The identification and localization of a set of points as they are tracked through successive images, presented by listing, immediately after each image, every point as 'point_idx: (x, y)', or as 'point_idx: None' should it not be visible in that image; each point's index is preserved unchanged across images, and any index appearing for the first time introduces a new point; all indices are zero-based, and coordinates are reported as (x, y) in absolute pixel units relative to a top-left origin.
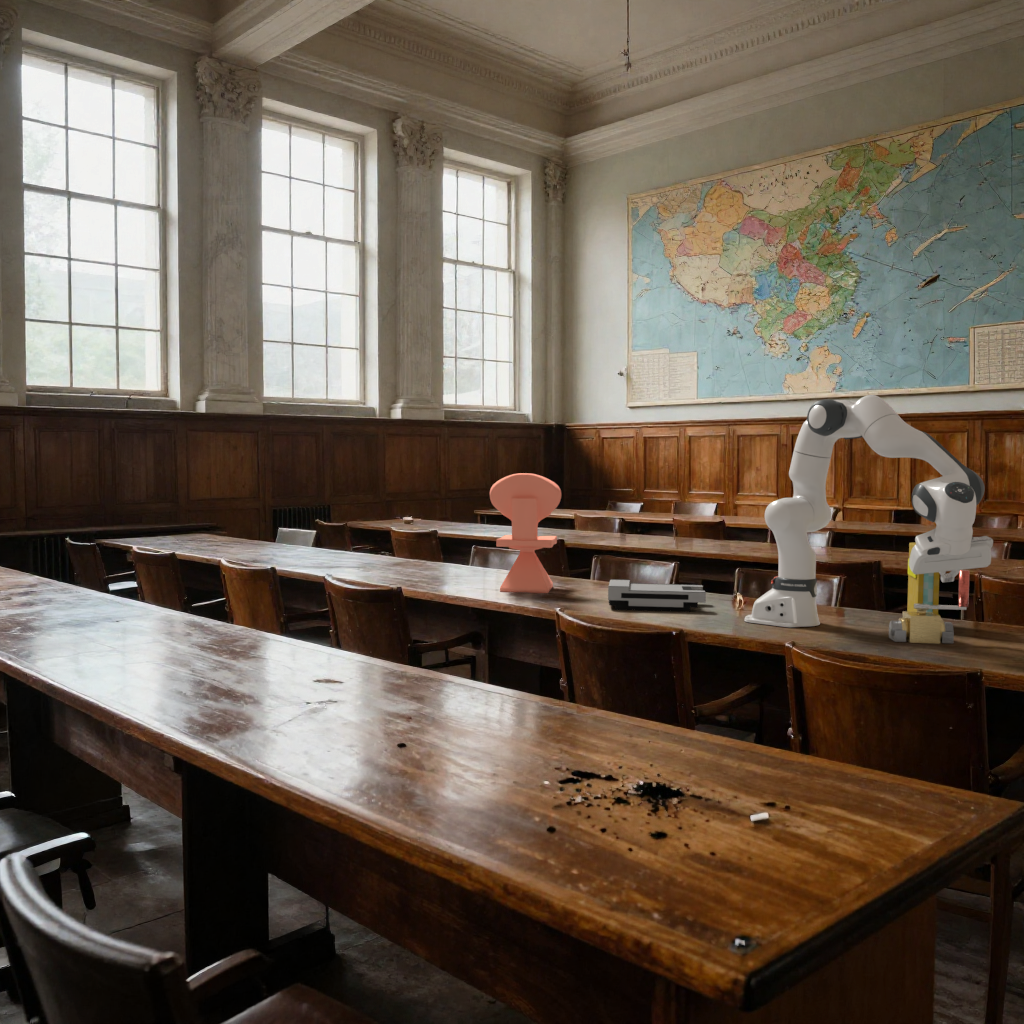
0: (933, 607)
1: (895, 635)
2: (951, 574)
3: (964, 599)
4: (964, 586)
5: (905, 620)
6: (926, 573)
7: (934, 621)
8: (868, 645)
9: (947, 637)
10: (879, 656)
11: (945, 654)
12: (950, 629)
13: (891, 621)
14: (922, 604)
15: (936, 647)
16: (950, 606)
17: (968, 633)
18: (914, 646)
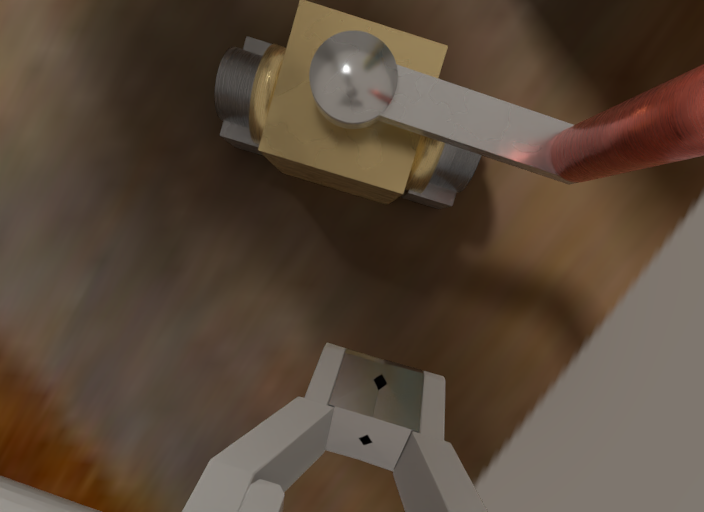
0: (403, 125)
1: (229, 142)
2: (406, 466)
3: (595, 173)
4: (671, 152)
5: (266, 111)
6: None
7: (371, 188)
8: (94, 204)
9: (423, 200)
10: (34, 397)
11: (286, 391)
12: (451, 186)
13: (219, 72)
14: (356, 80)
15: (329, 271)
16: (495, 153)
17: (639, 12)
18: (259, 243)
